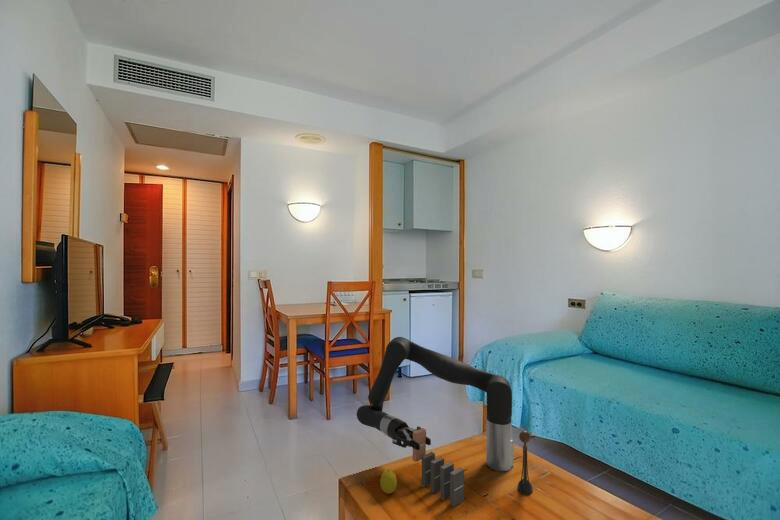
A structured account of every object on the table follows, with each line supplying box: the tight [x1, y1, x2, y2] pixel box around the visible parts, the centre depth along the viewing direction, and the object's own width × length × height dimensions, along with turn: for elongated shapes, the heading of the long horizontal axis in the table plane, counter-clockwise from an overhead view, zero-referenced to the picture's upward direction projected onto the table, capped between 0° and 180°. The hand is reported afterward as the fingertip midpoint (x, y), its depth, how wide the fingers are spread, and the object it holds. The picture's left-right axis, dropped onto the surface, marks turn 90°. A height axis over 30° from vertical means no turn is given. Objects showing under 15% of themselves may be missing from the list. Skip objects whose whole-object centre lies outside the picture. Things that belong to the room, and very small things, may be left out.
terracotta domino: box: [412, 427, 427, 463], centre depth 130 cm, size 2×5×10 cm, turn 129°
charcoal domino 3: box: [439, 461, 455, 501], centre depth 120 cm, size 2×5×10 cm, turn 130°
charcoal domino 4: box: [449, 466, 465, 508], centre depth 117 cm, size 2×5×10 cm, turn 130°
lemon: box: [379, 469, 398, 495], centre depth 121 cm, size 6×6×8 cm
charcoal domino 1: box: [421, 451, 436, 488], centre depth 127 cm, size 2×5×10 cm, turn 129°
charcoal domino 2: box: [430, 456, 445, 494], centre depth 124 cm, size 2×5×10 cm, turn 130°
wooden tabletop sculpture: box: [517, 430, 536, 495], centre depth 124 cm, size 6×5×20 cm
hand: (424, 444), depth 128 cm, fingers closed on terracotta domino, 5 cm apart
